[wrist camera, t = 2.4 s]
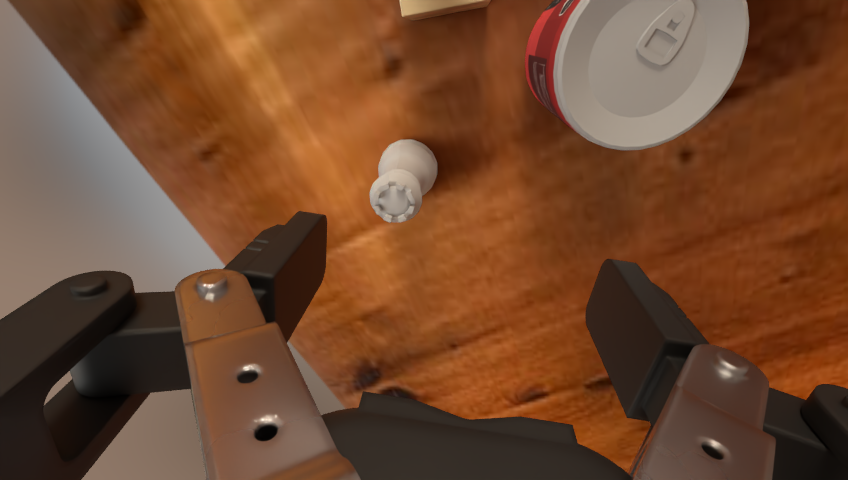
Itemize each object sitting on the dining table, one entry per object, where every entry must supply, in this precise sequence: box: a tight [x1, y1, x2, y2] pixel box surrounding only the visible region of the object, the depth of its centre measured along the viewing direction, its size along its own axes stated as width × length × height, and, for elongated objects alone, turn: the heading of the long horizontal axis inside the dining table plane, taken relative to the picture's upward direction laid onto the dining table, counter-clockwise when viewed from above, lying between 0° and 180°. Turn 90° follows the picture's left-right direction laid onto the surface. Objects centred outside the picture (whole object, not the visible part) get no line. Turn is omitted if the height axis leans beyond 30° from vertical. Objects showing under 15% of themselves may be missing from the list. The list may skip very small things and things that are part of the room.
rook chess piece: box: [370, 140, 437, 223], centre depth 28 cm, size 4×4×8 cm
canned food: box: [525, 0, 749, 150], centre depth 22 cm, size 8×8×11 cm
